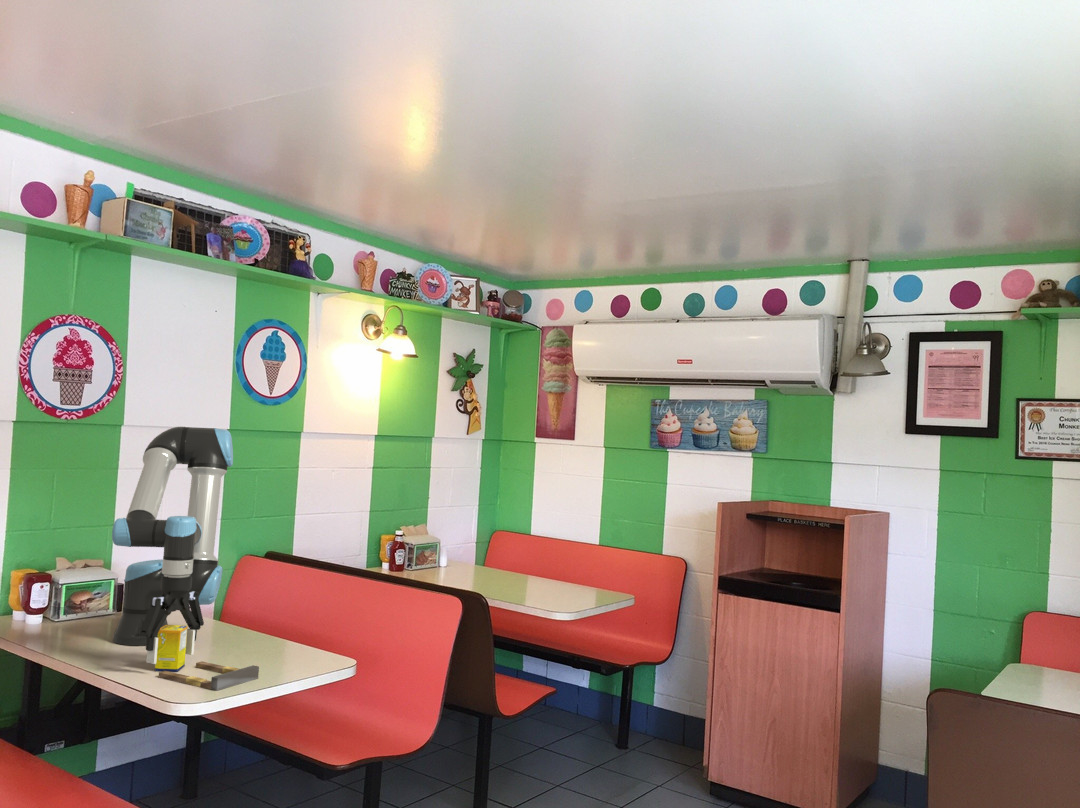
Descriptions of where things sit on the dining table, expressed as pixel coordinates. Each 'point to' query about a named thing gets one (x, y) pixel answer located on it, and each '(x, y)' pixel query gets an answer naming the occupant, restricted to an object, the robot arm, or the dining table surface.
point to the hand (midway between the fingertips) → (170, 658)
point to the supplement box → (171, 648)
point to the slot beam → (218, 682)
